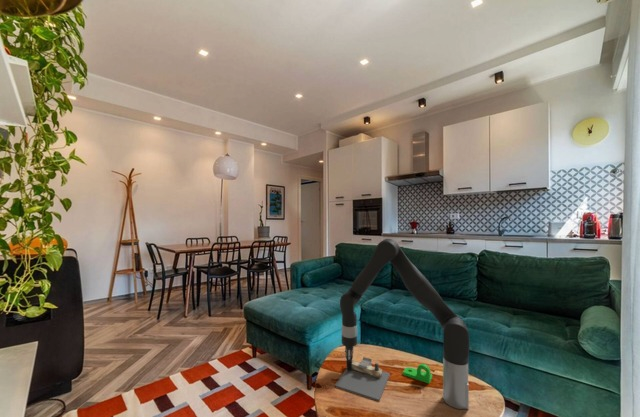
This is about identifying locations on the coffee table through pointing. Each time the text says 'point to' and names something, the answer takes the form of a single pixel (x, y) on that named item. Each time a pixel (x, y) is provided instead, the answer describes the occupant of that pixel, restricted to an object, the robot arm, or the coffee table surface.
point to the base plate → (363, 383)
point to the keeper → (365, 363)
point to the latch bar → (368, 369)
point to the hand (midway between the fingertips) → (349, 369)
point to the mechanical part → (419, 373)
